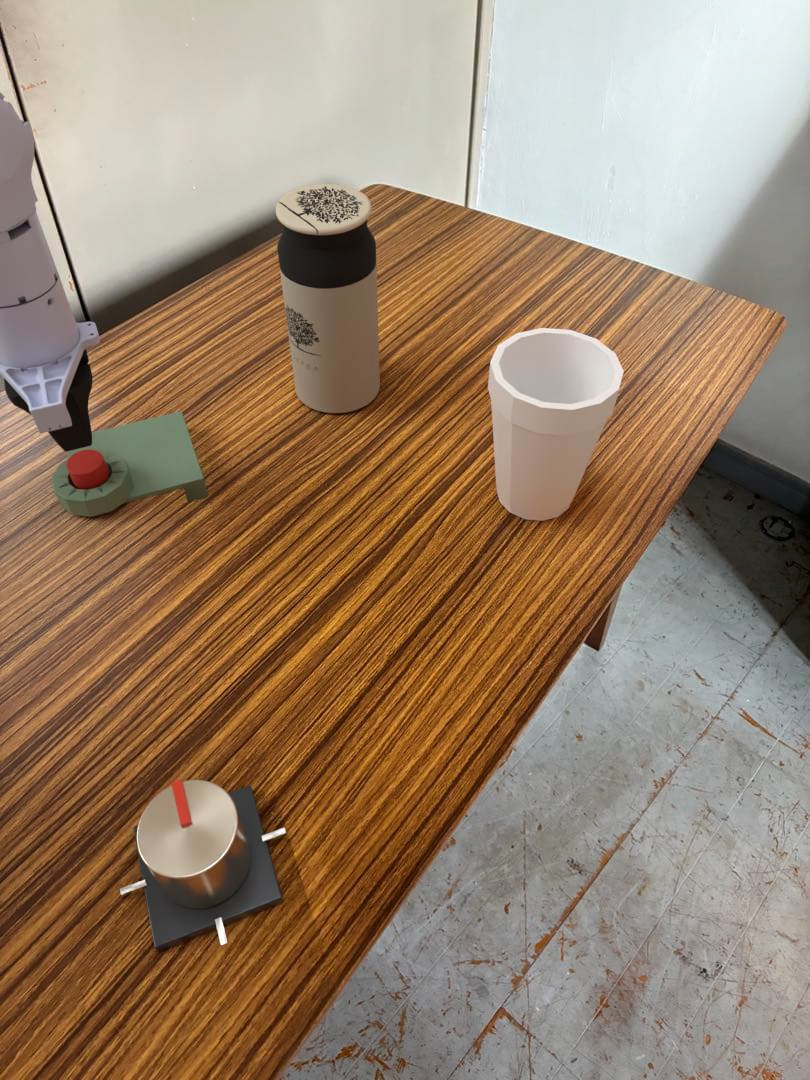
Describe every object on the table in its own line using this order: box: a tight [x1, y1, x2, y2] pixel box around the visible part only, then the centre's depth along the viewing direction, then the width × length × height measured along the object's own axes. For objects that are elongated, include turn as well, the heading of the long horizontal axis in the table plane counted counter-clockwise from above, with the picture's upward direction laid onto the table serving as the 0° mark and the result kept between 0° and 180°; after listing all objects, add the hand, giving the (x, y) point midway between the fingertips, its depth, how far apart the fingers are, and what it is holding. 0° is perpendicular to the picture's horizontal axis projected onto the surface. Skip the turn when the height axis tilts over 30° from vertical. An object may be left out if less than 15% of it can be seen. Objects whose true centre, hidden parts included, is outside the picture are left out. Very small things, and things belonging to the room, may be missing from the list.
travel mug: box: [275, 183, 381, 414], centre depth 70 cm, size 8×8×18 cm
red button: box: [66, 449, 109, 490], centre depth 64 cm, size 3×3×2 cm
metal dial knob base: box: [119, 785, 287, 952], centre depth 47 cm, size 9×9×3 cm
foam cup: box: [487, 327, 625, 522], centre depth 63 cm, size 10×9×13 cm
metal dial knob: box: [136, 779, 251, 909], centre depth 44 cm, size 5×5×5 cm
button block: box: [51, 410, 209, 518], centre depth 67 cm, size 11×10×4 cm
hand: (77, 442), depth 61 cm, fingers closed
